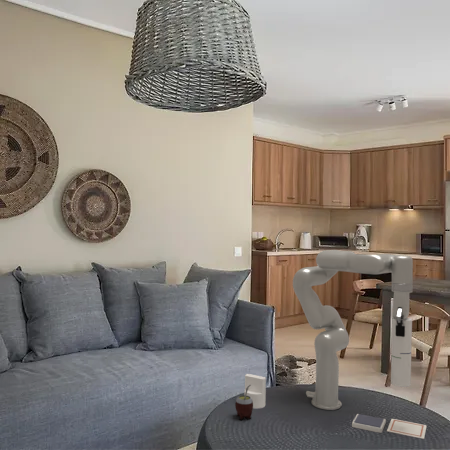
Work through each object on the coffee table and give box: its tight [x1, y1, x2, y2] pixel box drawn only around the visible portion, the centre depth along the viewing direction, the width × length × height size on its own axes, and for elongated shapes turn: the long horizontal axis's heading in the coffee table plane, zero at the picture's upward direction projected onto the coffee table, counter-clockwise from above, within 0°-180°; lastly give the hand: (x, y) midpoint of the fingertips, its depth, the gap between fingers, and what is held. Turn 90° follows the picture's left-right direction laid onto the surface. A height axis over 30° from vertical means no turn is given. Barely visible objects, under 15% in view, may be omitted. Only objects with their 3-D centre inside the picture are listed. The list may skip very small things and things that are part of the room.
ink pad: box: [351, 413, 387, 434], centre depth 189 cm, size 11×10×2 cm
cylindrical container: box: [390, 316, 413, 388], centre depth 186 cm, size 7×7×25 cm
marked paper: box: [386, 418, 427, 440], centre depth 186 cm, size 13×13×1 cm
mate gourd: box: [234, 385, 254, 421], centre depth 193 cm, size 8×8×15 cm
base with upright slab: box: [244, 373, 267, 410], centre depth 208 cm, size 9×9×12 cm
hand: (401, 333), depth 186 cm, fingers closed on cylindrical container, 7 cm apart
